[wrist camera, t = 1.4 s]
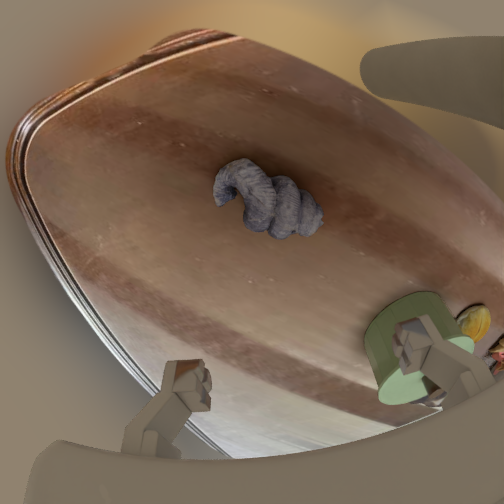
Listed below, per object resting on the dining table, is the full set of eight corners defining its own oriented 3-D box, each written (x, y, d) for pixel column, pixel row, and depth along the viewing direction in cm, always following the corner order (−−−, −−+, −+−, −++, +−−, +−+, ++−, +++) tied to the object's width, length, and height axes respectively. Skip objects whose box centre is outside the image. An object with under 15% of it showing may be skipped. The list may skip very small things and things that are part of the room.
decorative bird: (443, 394, 53) (449, 409, 49) (389, 389, 47) (396, 409, 42) (461, 379, 50) (468, 395, 46) (412, 371, 44) (421, 392, 39)
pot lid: (485, 316, 25) (500, 340, 22) (450, 379, 33) (459, 399, 29) (387, 350, 26) (399, 381, 23) (368, 408, 34) (375, 431, 30)
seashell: (214, 174, 25) (312, 207, 28) (199, 226, 23) (307, 258, 26) (229, 138, 20) (341, 182, 23) (211, 196, 19) (340, 239, 21)
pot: (453, 282, 32) (483, 323, 25) (431, 343, 39) (450, 382, 32) (368, 303, 33) (392, 356, 26) (359, 364, 40) (373, 409, 33)
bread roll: (469, 335, 40) (478, 350, 36) (440, 338, 39) (450, 355, 35) (492, 302, 35) (503, 317, 32) (465, 302, 34) (477, 319, 31)
